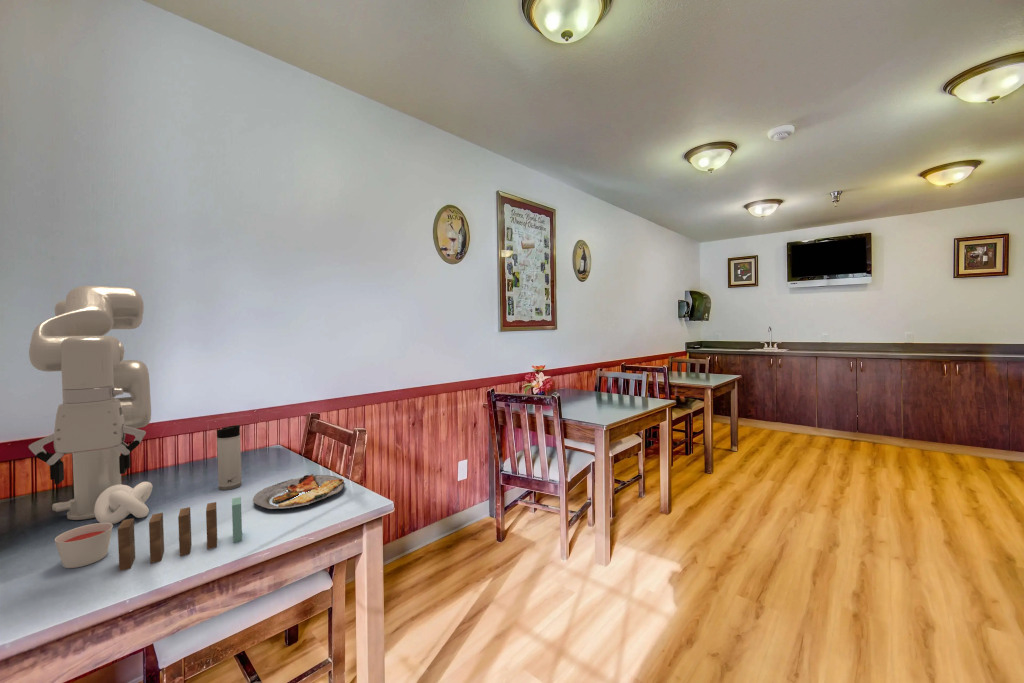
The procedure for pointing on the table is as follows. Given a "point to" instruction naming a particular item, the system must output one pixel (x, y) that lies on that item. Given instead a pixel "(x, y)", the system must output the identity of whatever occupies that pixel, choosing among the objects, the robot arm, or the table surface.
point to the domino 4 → (211, 525)
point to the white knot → (122, 502)
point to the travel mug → (229, 457)
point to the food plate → (299, 491)
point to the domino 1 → (126, 544)
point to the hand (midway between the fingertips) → (92, 477)
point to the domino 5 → (237, 519)
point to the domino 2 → (156, 537)
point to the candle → (84, 544)
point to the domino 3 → (184, 531)
